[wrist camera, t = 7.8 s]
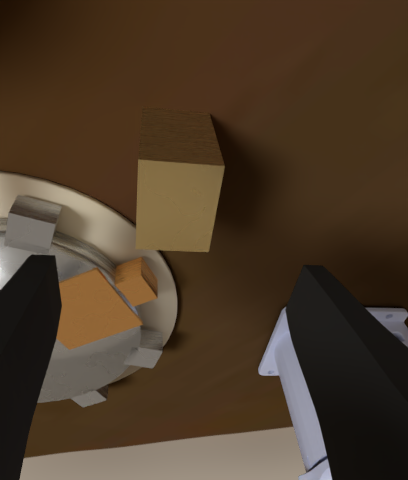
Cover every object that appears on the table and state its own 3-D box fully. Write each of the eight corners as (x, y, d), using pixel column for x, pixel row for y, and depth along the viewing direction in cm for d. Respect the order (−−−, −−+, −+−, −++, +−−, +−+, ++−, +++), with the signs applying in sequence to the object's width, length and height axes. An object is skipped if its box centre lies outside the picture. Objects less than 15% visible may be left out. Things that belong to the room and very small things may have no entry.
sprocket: (53, 131, 16) (17, 202, 12) (207, 349, 27) (216, 426, 23) (-253, 271, 19) (-368, 367, 15) (-2, 416, 30) (-28, 495, 26)
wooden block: (142, 106, 17) (138, 159, 13) (209, 113, 17) (224, 166, 13) (139, 184, 19) (135, 249, 15) (198, 188, 20) (208, 251, 16)
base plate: (194, 184, 19) (195, 188, 19) (165, 389, 31) (165, 393, 31) (-261, 150, 16) (-269, 155, 16) (-100, 393, 28) (-102, 398, 28)
